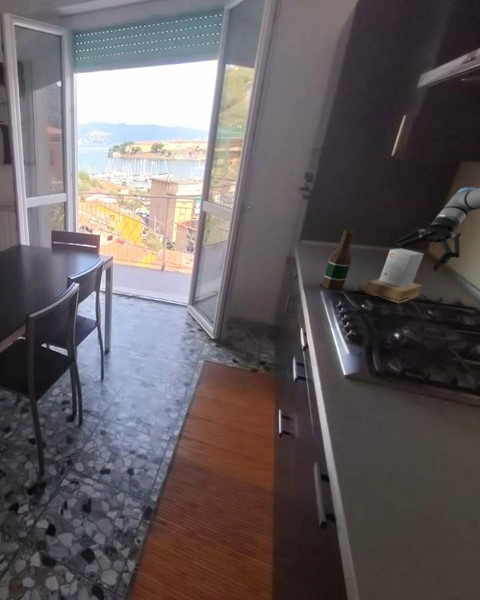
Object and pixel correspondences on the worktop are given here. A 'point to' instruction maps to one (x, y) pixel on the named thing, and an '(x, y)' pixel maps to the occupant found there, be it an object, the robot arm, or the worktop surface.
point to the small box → (401, 267)
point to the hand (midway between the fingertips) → (413, 263)
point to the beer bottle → (339, 264)
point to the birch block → (392, 290)
